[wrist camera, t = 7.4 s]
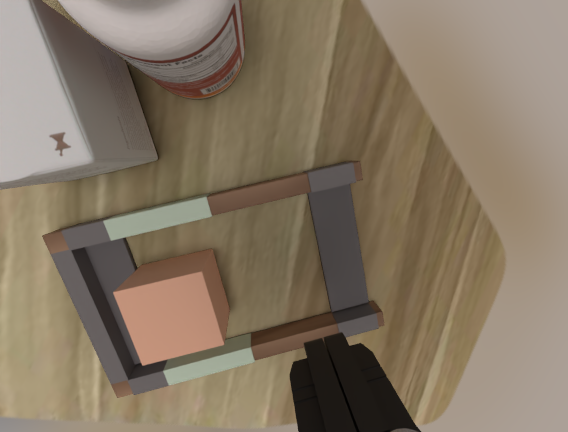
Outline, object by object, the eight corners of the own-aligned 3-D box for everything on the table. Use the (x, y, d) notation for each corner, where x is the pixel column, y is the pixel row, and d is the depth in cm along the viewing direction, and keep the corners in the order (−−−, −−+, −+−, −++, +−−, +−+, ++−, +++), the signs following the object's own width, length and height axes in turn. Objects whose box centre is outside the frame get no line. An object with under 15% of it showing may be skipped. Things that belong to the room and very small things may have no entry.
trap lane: (59, 228, 17) (40, 235, 16) (351, 160, 19) (360, 160, 17) (127, 381, 20) (116, 399, 19) (375, 314, 22) (385, 326, 20)
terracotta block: (142, 264, 19) (112, 292, 15) (212, 247, 19) (201, 271, 15) (164, 324, 20) (142, 365, 16) (230, 308, 20) (224, 344, 16)
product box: (128, 59, 16) (26, -20, 9) (161, 161, 17) (97, 165, 10) (22, 80, 15) (-174, 16, 8) (65, 182, 17) (-72, 202, 10)
